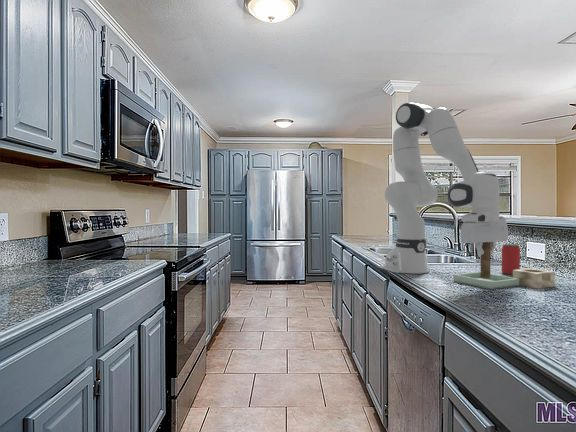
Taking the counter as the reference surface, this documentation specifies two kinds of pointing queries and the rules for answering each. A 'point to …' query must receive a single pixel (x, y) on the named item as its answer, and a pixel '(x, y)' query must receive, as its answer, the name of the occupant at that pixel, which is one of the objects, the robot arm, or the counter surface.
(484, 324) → the counter surface
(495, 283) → the tray
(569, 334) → the counter surface
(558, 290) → the counter surface
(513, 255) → the beer can
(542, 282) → the socket block
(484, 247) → the walnut peg
